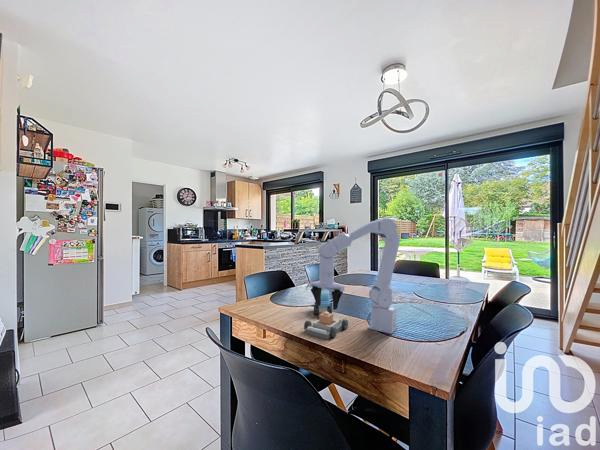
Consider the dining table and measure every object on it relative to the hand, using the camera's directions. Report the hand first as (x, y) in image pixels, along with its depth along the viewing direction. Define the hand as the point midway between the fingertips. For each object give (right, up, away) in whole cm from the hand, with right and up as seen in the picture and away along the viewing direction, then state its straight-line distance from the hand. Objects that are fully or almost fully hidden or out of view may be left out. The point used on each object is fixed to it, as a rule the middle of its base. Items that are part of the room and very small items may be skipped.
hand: (326, 307), depth 103 cm
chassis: (0, -9, 0) cm, 9 cm away
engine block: (0, -7, 0) cm, 7 cm away
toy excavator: (+1, -10, +24) cm, 25 cm away
